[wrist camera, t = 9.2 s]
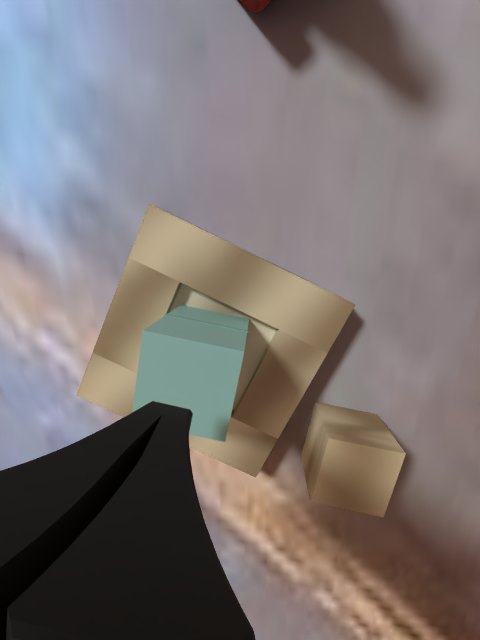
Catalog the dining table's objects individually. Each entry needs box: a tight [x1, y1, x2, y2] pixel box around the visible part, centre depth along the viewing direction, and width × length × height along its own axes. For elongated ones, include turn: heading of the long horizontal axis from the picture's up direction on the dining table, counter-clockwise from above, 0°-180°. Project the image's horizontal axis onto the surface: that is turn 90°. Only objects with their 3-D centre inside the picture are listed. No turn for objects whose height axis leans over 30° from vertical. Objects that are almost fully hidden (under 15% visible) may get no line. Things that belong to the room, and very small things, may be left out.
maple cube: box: [301, 402, 406, 517], centre depth 18 cm, size 4×4×4 cm
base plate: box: [77, 204, 355, 477], centre depth 18 cm, size 12×12×2 cm
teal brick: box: [132, 305, 249, 442], centre depth 15 cm, size 4×4×6 cm
